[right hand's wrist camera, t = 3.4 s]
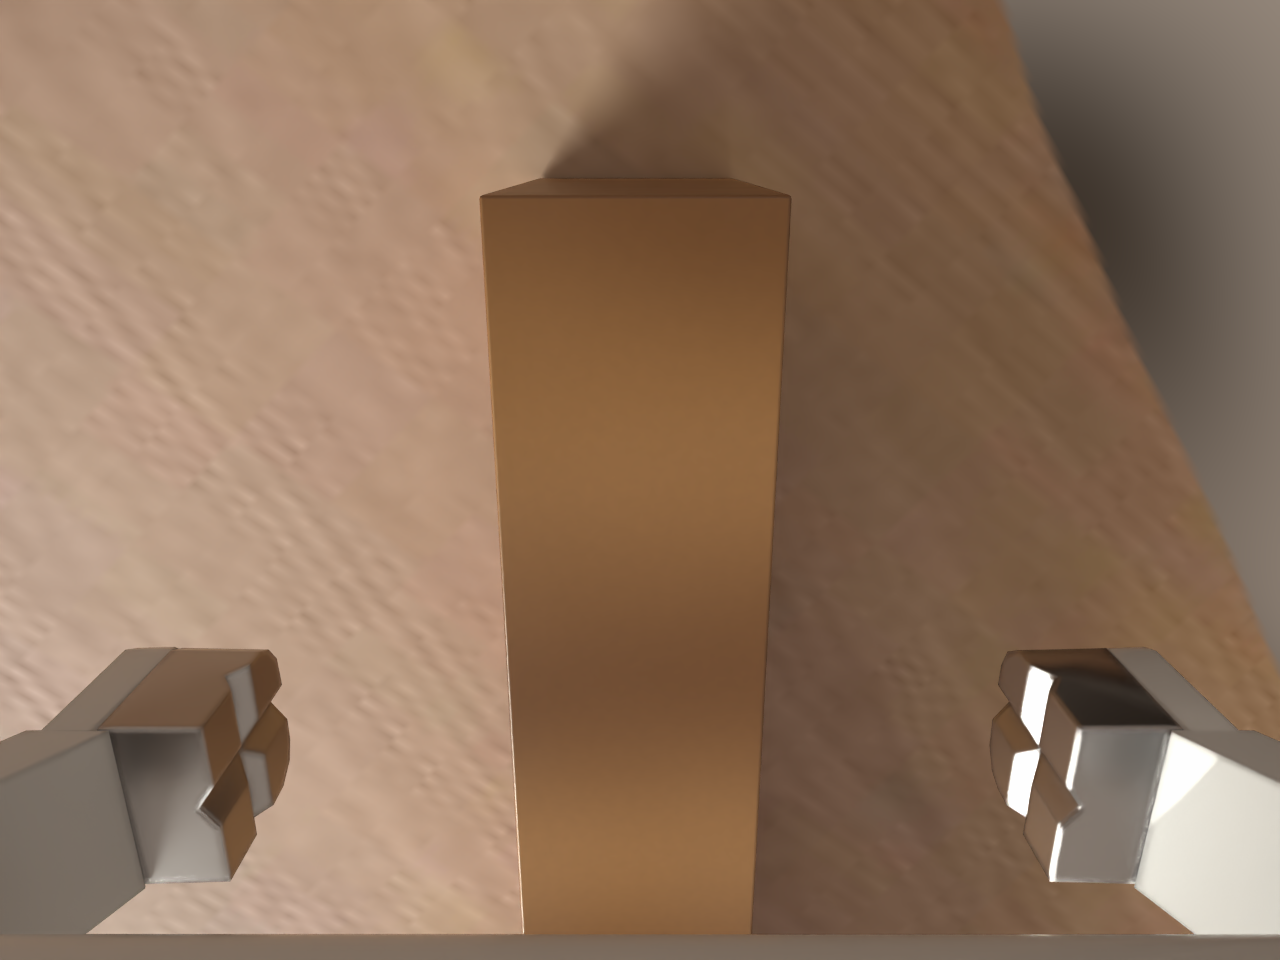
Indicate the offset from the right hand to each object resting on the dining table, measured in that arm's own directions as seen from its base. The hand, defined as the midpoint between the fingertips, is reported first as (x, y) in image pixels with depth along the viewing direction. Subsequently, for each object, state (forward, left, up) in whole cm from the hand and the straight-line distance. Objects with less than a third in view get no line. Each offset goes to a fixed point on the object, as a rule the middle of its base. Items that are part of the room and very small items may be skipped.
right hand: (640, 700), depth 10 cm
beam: (+11, -19, -15) cm, 26 cm away
